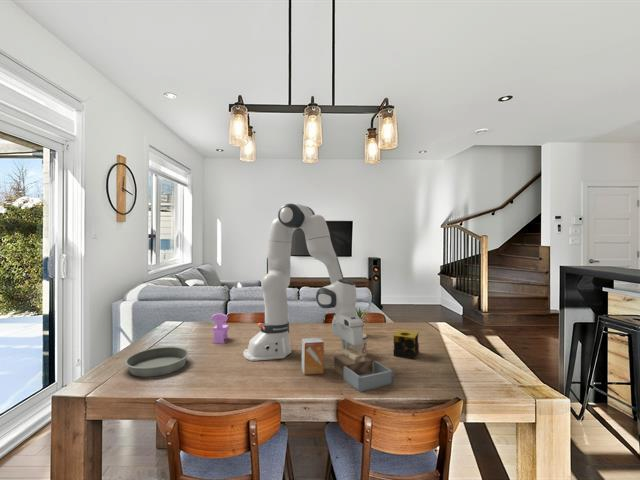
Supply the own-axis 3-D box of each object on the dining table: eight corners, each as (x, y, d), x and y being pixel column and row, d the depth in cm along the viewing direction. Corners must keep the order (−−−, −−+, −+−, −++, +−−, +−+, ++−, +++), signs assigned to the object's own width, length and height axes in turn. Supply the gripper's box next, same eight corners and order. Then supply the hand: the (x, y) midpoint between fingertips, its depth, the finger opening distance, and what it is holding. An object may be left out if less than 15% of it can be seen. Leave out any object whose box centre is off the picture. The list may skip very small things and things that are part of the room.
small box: (304, 375, 136) (304, 342, 136) (301, 369, 142) (301, 338, 142) (323, 373, 138) (324, 341, 138) (320, 367, 144) (320, 336, 144)
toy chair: (230, 338, 184) (230, 310, 184) (226, 343, 175) (226, 314, 175) (214, 338, 184) (214, 310, 184) (210, 343, 175) (210, 314, 175)
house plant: (376, 334, 191) (376, 305, 191) (366, 341, 179) (366, 310, 179) (353, 330, 199) (354, 302, 198) (342, 336, 187) (342, 307, 187)
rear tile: (348, 358, 139) (348, 352, 139) (342, 355, 143) (342, 349, 143) (357, 357, 141) (357, 351, 141) (352, 353, 145) (352, 347, 145)
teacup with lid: (366, 358, 155) (366, 333, 155) (346, 357, 156) (346, 332, 156) (367, 349, 167) (367, 326, 166) (348, 348, 168) (349, 325, 168)
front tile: (354, 363, 135) (354, 356, 135) (348, 359, 139) (349, 353, 139) (364, 361, 137) (364, 355, 137) (358, 357, 141) (358, 351, 141)
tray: (359, 392, 122) (359, 378, 122) (343, 379, 132) (343, 366, 132) (393, 384, 128) (393, 371, 128) (375, 372, 139) (375, 360, 139)
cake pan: (128, 360, 151) (128, 350, 151) (187, 353, 161) (187, 343, 161) (120, 383, 129) (120, 371, 129) (190, 373, 139) (190, 362, 138)
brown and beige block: (346, 378, 133) (346, 364, 133) (334, 369, 142) (334, 356, 142) (372, 373, 138) (372, 360, 138) (358, 364, 148) (358, 351, 147)
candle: (419, 352, 163) (419, 332, 163) (415, 360, 154) (415, 337, 153) (397, 349, 167) (397, 329, 167) (392, 356, 158) (393, 335, 158)
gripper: (328, 313, 153) (328, 344, 154) (352, 324, 135) (352, 359, 135) (340, 312, 156) (340, 342, 157) (365, 322, 138) (365, 356, 138)
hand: (346, 350), depth 146 cm, fingers closed
